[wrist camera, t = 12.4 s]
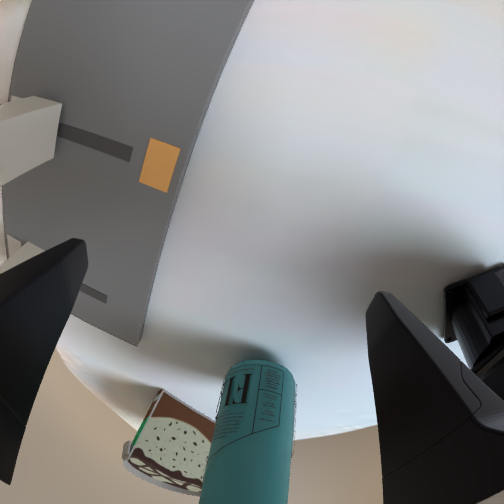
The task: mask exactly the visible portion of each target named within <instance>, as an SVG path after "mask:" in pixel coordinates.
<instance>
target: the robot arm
mask: <svg viewBox="0 0 504 504" xmlns="http://www.w3.org/2000/svg"><path fill="white" fill-rule="evenodd" d="M87 269H88V255H87V246H86V242H85V241H84V240H83V239H78V238H71V239H69V240H67V241H65V242H63V243H60V244H58V245H56V246H54V247H52V248H50V249H48V250H46V251H44V252H42V253H40V254H38V255H36V256H34V257H32V258H30V259H28V260H26V261H24V262H22V263H20V264H18V265H16V266H14V267H12V268H11V269H9V270H7V271H5V272H3V273H1V274H0V480H1V481H3V482H5V483H6V484H8V485H10V484H11V481H12V476H13V472H14V468H15V464H16V460H17V456H18V453H19V449H20V445H21V441H22V438H23V435H24V432H25V428H26V425H27V421H28V418H29V415H30V412H31V409H32V406H33V403H34V400H35V398H36V395H37V392H38V390H39V387H40V384H41V382H42V379H43V376H44V374H45V371H46V369H47V366H48V364H49V361H50V359H51V356H52V354H53V352H54V349H55V347H56V345H57V342H58V340H59V338H60V336H61V333H62V331H63V329H64V327H65V325H66V322H67V320H68V318H69V316H70V314H71V311H72V309H73V307H74V304H75V301H76V298H77V296H78V293H79V290H80V288H81V285H82V282H83V280H84V277H85V275H86V272H87ZM450 291H451V292H450ZM449 292H450V293H449ZM366 329H367V344H368V358H369V365H370V371H371V378H372V385H373V392H374V399H375V407H376V415H377V423H378V432H379V443H380V453H381V464H382V465H381V466H382V476H383V478H382V483H383V504H504V265H503V266H501V267H498V268H496V269H493V270H490V271H488V272H485V273H483V274H480V275H477V276H474V277H472V278H469V279H466V280H463V281H461V282H458V283H455V284H452V285H449V286H447V287H446V288H445V289H444V341H445V342H446V343H450V342H453V341H455V340H458V342H459V345H460V347H461V350H462V352H463V354H464V357H465V359H466V362H467V364H468V367H469V368H468V367H467V366H466V365H465V364H464V363H463V362H462V361H461V362H460V359H459V358H458V357H457V356H456V355H455V354H454V353H453V352H452V351H451V350H450V349H449V348H448V347H447V346H446V345H445V344H444V343H443V342H442V341H441V340H440V339H439V338H438V337H437V336H436V335H435V334H433V333H432V332H431V331H430V330H429V329H428V328H427V327H426V326H425V325H424V324H423V323H422V322H421V321H420V320H419V319H418V318H417V317H416V316H415V315H414V314H412V313H411V312H410V311H409V310H408V309H407V308H406V307H405V306H404V305H403V304H402V303H401V302H400V301H398V300H397V299H396V298H395V297H394V296H393V295H392V294H391V293H389V292H382V291H379V292H377V293H376V294H375V296H374V298H373V300H372V302H371V303H370V305H369V307H368V309H367V311H366Z"/></svg>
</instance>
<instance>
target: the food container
mask: <svg viewBox="0 0 504 504" xmlns="http://www.w3.org/2000/svg"><path fill="white" fill-rule="evenodd" d="M215 423H216V421H214V420H212V419H211V418H209V417H207V416H206V415H204V414H202V413H201V412H199V411H197V410H196V409H194V408H192V407H191V406H189V405H188V404H186V403H184V402H183V401H181V400H180V399H178V398H177V397H175V396H173V395H172V394H170V393H169V392H167V391H166V390H164V389H162V390H160V391H159V392H158V394H157V396H156V397H155V399H154V401H153V403H152V405H151V407H150V409H149V411H148V413H147V414H146V416H145V418H144V420H143V422H142V424H141V426H140V428H139V430H138V432H137V434H136V436H135V437H134V440H133V441H132V443H131V441H127V442H126V443H125V444H124V446H123V453H122V458H123V465H124V467H125V468H126V469H127V470H128V471H130V472H131V473H132V474H134V475H136V476H137V477H139V478H141V479H143V480H145V481H147V482H149V483H151V484H154V485H156V486H159V487H162V488H165V489H168V490H171V491H174V492H178V493H183V494H187V495H192V496H200V495H201V491H202V486H203V482H202V481H203V476H204V473H205V469H206V468H205V466H206V465H207V463H206V461H207V459H208V457H207V456H209V451H210V447H211V442H212V438H213V435H212V434H213V433H214V429H215V427H214V426H215ZM213 425H214V426H213ZM130 444H131V445H130ZM206 457H207V458H206ZM205 459H206V460H205ZM204 468H205V469H204ZM203 470H204V471H203ZM201 483H202V485H201Z"/></svg>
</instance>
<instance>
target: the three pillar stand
mask: <svg viewBox="0 0 504 504" xmlns="http://www.w3.org/2000/svg"><path fill="white" fill-rule="evenodd" d="M253 2H254V0H32V2H31V5H30V8H29V11H28V14H27V18H26V21H25V24H24V28H23V31H22V35H21V38H20V42H19V46H18V50H17V54H16V59H15V63H14V68H13V73H12V79H11V84H10V90H9V97H8V102H11V101H15V100H19V99H22V98H26V97H31V96H37V97H40V98H44V99H48V100H52V101H56V102H59V103H62V108H61V113H60V118H59V124H58V130H57V137H56V144H55V151H54V158H53V159H51V160H48V161H46V162H44V163H43V164H41V165H39V166H37V167H35V168H33V169H31V170H29V171H27V172H25V173H23V174H22V175H20V176H18V177H16V178H14V179H13V180H11V181H9V182H7V183H6V184H4V185H2V198H3V220H4V233H5V244H6V253H7V260H6V261H5V262H4V263H3V264H2V265H1V266H0V274H1V273H3V272H5V271H7V270H9V269H11V268H12V267H14V266H16V265H18V264H20V263H22V262H24V261H26V260H28V259H30V258H32V257H34V256H36V255H38V254H40V253H42V252H44V251H46V250H48V249H50V248H52V247H54V246H56V245H58V244H60V243H63V242H65V241H67V240H69V239H71V238H78V239H83V240H84V241H85V242H86V246H87V255H88V269H87V272H86V275H85V277H84V280H83V282H82V285H81V288H80V290H79V293H78V296H77V298H76V301H75V304H74V307H73V309H72V311H71V314H72V315H74V316H75V317H77V318H79V319H81V320H83V321H85V322H87V323H89V324H91V325H93V326H95V327H97V328H99V329H101V330H103V331H105V332H107V333H109V334H111V335H113V336H115V337H117V338H119V339H121V340H124V341H126V342H128V343H130V344H132V345H134V346H137V345H138V343H139V341H140V339H141V335H142V330H143V326H144V321H145V317H146V312H147V308H148V303H149V299H150V295H151V291H152V287H153V283H154V279H155V275H156V271H157V267H158V263H159V259H160V256H161V252H162V248H163V245H164V241H165V237H166V234H167V230H168V227H169V223H170V220H171V216H172V213H173V210H174V206H175V203H176V200H177V197H178V193H179V190H180V187H181V184H182V181H183V178H184V175H185V172H186V169H187V166H188V163H189V160H190V157H191V154H192V151H193V148H194V145H195V142H196V139H197V137H198V134H199V131H200V128H201V125H202V123H203V120H204V117H205V115H206V112H207V109H208V107H209V104H210V101H211V99H212V96H213V94H214V91H215V89H216V86H217V84H218V81H219V79H220V76H221V74H222V71H223V69H224V66H225V64H226V62H227V59H228V57H229V55H230V52H231V50H232V48H233V45H234V43H235V41H236V39H237V36H238V34H239V32H240V30H241V27H242V25H243V23H244V21H245V19H246V17H247V15H248V12H249V10H250V8H251V6H252V4H253Z"/></svg>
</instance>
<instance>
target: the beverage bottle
mask: <svg viewBox="0 0 504 504" xmlns="http://www.w3.org/2000/svg"><path fill="white" fill-rule="evenodd" d="M224 380H225V382H224V383H225V384H224V383H223V386H224V388H221V389H223V393H222V391H221V393H220V394H221V396H220V397H221V402H220V406H219V411H218V414H217V416H216V417H215V418H216V423H215V426H214V425H213V426H214V427H215V429H214V433H213V434H212V435H213V438H212V442H211V447H210V451H209V456H207V457H208V459H207V461H206V463H207V465H206V466H205V468H206V469H205V468H204V469H205V473H204V476H203V481H202V482H203V486H202V491H201V495H200V500H199V504H287V501H288V489H289V477H290V463H291V453H292V444H293V437H294V432H293V426H294V420H296V419H295V415H296V414H295V413H294V406H295V402H296V401H295V400H296V399H297V398H296V395H297V394H296V393H295V381H294V378H293V375H292V374H291V372H290V371H289V370H288V369H287V368H285V367H284V366H282V365H280V364H277V363H275V362H271V361H267V360H246V361H242V362H239V363H237V364H235V365H234V366H233V367H232V368H231V369H230V370H229V372H228V374H227V376H226V379H224ZM296 385H297V384H296ZM223 386H222V387H223ZM296 392H297V391H296ZM295 394H296V395H295ZM220 397H219V398H220ZM219 401H220V399H219ZM296 403H297V402H296ZM218 404H219V402H218ZM217 408H218V406H217ZM295 408H296V407H295ZM216 413H217V411H216ZM295 423H296V421H295ZM295 426H296V425H295ZM294 438H295V437H294ZM207 457H206V458H207ZM205 460H206V459H205ZM203 471H204V470H203ZM201 485H202V483H201Z"/></svg>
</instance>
